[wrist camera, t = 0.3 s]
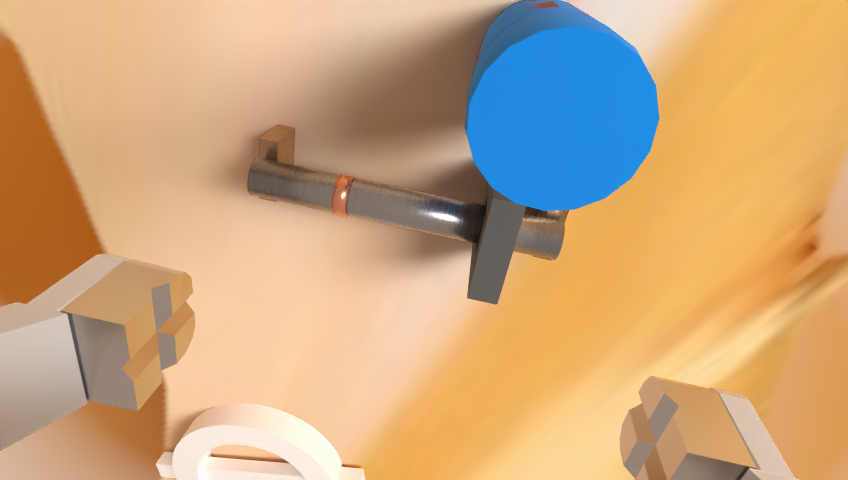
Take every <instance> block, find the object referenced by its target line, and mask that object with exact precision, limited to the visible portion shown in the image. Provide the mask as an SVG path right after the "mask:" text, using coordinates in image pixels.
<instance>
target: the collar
mask: <svg viewBox="0 0 848 480" xmlns="http://www.w3.org/2000/svg"><path fill="white" fill-rule="evenodd" d="M483 205H486V206H487V210H486V217H485V221H484V225H483V228H482V232H481V236H480V240H479V244H477V243H473V246H472V256H471V266H470V276H469V285H468V295H467V298H469V299H474V300H478V301H483V302H487V303H492V304H497V303H498V300H499V296H500V293H501V290H502V286H503V283H504V280H505V276H506V273H507V270H508V266H509V263H510V260H511V256H512V253H513V250H514V246H515V243H516V240H517V236H518V233H519V230H520V226H521V223H522V220H523V216H524V213H525V210H526V206H524V205H520V204H516V203H514V202H513V201H511V200H510V199H508V198H507V197H506V196H504V195H503V194H501V193H500V192H498V191H497V190H495V189H494V188H492V187H491V186H490V184H489V183H488V185H487V189H486V193H485V197H484V201H483Z"/></svg>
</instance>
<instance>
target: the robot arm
mask: <svg viewBox="0 0 848 480" xmlns="http://www.w3.org/2000/svg"><path fill="white" fill-rule="evenodd" d="M192 293H193V288H192V280H191V277H190V276H189V275H188V274H187V273H186V272H182V271H178V270H174V269H170V268H166V267H161V266H157V265H153V264H149V263H145V262H141V261H137V260H130V259H127V258H123V257H119V256H115V255H111V254H99V255H96V256H94V257H93V258H92V259H90V260H88V261H87V262H86V263H84V264H83V265H81V266H80V267H79V268H77V269H76V270H74V271H73V272H72V273H70V274H69V275H67V276H66V277H64V278H63V279H61V280H60V281H59V282H57V283H56V284H54V285H53V286H51V287H50V288H49V289H47V290H46V291H44V292H43V293H41V294H40V295H39V296H37V297H36V298H34V299H33V300H32V301H30V302H29V303H27V304H22V303H18V302H16V303H12V304H9V305H5V306H2V307H0V451H1V450H3V449H4V448H6V447H8V446H10V445H12V444H14V443H15V442H17V441H19V440H21V439H23V438H25V437H27V436H28V435H30V434H32V433H34V432H36V431H38V430H39V429H41V428H43V427H45V426H47V425H48V424H51V423H52V422H54V421H56V420H58V419H60V418H61V417H63V416H65V415H67V414H69V413H71V412H73V411H74V410H76V409H78V408H80V407H82V406H84V405H85V404H87V401H91V402H96V403H101V404H106V405H111V406H116V407H121V408H126V409H131V410H136V411H138V410H139V409H140V408H141V407H142V405H143V404H144V403H145V402H146V400H147V399H148V398H149V397H150V396H151V394H152V393H153V392H154V391H155V390H156V388H157V387H158V386H159V385H160V384H161V382H162V376H161V370H163V369H165V368H168V367H170V366H172V365H174V364H177V363H178V361H179V360H180V359H181V358H182V356H183V355H184V354H185V352H186V351H187V349H188V346H189V344H190V342H191V339H192V337H193V333H194V327H195V315H194V312H193V310H192V309H191V308H190V306H189V305H188V304H187V302H186V300H187V299H188V298H189V296H190V295H191V294H192ZM639 395H640V398H641V401H642V404H640V405H638V406H636V407H634V408H632V409H630V410H629V411H628V413H627V415H626V418H625V420H624V422H623V424H622V430H621V436H620V451H621V456H622V461H623V465H624V466H625V467H626V469H627V470H628V471H629V472H630V473H631V474H632V475H633V477H634V478H635V480H800V479H796V478H794V476H793V475H792V473H791V471H790V469H789V468H788V466H787V464H786V463H785V461H784V459H783V458H782V456H781V454H780V452H779V451H778V449H777V447H776V445H775V444H774V442H773V440H772V438H771V437H770V435H769V433H768V432H767V430H766V428H765V426H764V425H763V423H762V421H761V420H760V418H759V416H758V414H757V413H756V411H755V409H754V408H753V406H752V404H751V402H750V401H749V400H748V399H747V398H746V397H745V396H743V395H742V394H739V393H734V392H729V391H724V390H719V389H714V388H710V389H709V388H705V387H700V386H696V385H691V384H686V383H682V382H677V381H672V380H668V379H663V378H659V377H654V376H650V377H649V378H648V379H647V380H646V381H644V383H643V385H642V387H641V389H640V390H639Z"/></svg>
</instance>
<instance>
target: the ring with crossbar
mask: <svg viewBox="0 0 848 480" xmlns="http://www.w3.org/2000/svg"><path fill="white" fill-rule="evenodd" d="M230 444H239V445H248V446H253V447H257V448H260V449H264V450H266V451H269V452H271V453H274V454H276V455H278V456H279V457H281V458H283V459H284V460H286V461H287V462H289V463H279V462H267V461H255V460H243V459H230V458H218V457H212V455H211V450H210V449H212V448H215V447H218V446H222V445H230ZM156 466H157V468H158V470H159V472H160V474H161V477H169V478H176V479H177V480H365V475H364V469H361V468H349V467H343V466H342V463H341V460H340V458H339V456H338V454H337V452H336V451H335V449H334V448H333V446H332V445H331V444H330V443H329V442H328V440H327V439H326V438H325V437H324V436H323V435H321V434H320V433H319V432H318V431H317V430H315V429H314V428H313V427H311V426H310V425H309V424H307V423H305V422H304V421H302V420H300V419H298V418H296V417H295V416H292V415H290V414H288V413H286V412H283V411H280V410H277V409H274V408H271V407H267V406H262V405H256V404H248V403H232V404H224V405H220V406H216V407H213V408H210V409H208V410H206V411H204V412H203V413H201V414H200V415H199V416H197V417H196V418H195V419H194V421H193V422H192V423H191V425H190V426H189V428H188V429H187V431H186V432H185V434H184V435H183V437H182V438H181V440H180V441H179V443H178V444H177V446H176V448H175V450H174V452H164V453H163V454H162V456H161V457H160V459H159V460H158V461H157V463H156Z"/></svg>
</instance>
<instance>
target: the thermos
mask: <svg viewBox="0 0 848 480" xmlns="http://www.w3.org/2000/svg"><path fill="white" fill-rule="evenodd" d="M658 121H659V112H658V101H657V91H656V85H655V83H654V81H653V79H652V77H651V75H650V74H649V72H648V70H647V68H646V66H645V64H644V63H643V61H642V59H641V57H640V55H639V53H638V52H637V50H636V48H635V47H633V46H632V45H631V44H630V43H628V42H627V41H626V40H624V39H623V38H622V37H621V36H619V35H618V34H617V33H615V32H614V31H613V30H611V29H610V28H609V27H607V26H606V25H604V24H602V23H601V22H599V21H597V20H596V19H594V18H592V17H591V16H589V15H588V14H586V13H584V12H583V11H581V10H579V9H578V8H576V7H574V6H573V5H571V4H570V3H568V2H564V1H560V0H522V1H520V2H518V3H516V4H514V5H512V6H510V7H508V8H506V9H505V10H504V11H503V12H502V13H501V14H500V15H499V16H498V18H497V19H496V20H495V21H494V22H493V23H492V24H491V25H490V26H489V28H488V30H487V33H486V35H485V37H484V39H483V41H482V44H481V46H480V49H479V53H478V57H477V61H476V65H475V68H474V72H473V76H472V80H471V84H470V88H469V92H468V98H467V109H466V120H465V129H466V134H467V138H468V141H469V145H470V149H471V152H472V156H473V160H474V163H475V165H476V166H477V168H478V169H479V170H480V172H481V173H482V175H483V176H484V177H485V179H486V180H487V181H488V183H489V184H490V186H491V187H492V188H494V189H495V190H497V191H498V192H500V193H501V194H503V195H504V196H506V197H507V198H508V199H510V200H511V201H513V202H514V203H516V204H520V205H524V206H528V207H531V208H535V209H539V210H543V211H552V210H571V209H577V208H580V207H583V206H585V205H588V204H591V203H593V202H596V201H599V200H602V199H604V198H606V197H607V196H609V195H610V194H611V193H613V192H614V191H615V190H617V189H618V188H619V187H620V186H622V185H623V184H624V183H626V182H627V181H628V180H630V179H631V178H632V176H633V175H634V174H635V172H636V171H637V169H638V168H639V166H640V165H641V163H642V162H643V161H644V159H645V158H646V156H647V155H648V153H649V152H650V150H651V146H652V143H653V139H654V136H655V132H656V129H657V125H658Z"/></svg>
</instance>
